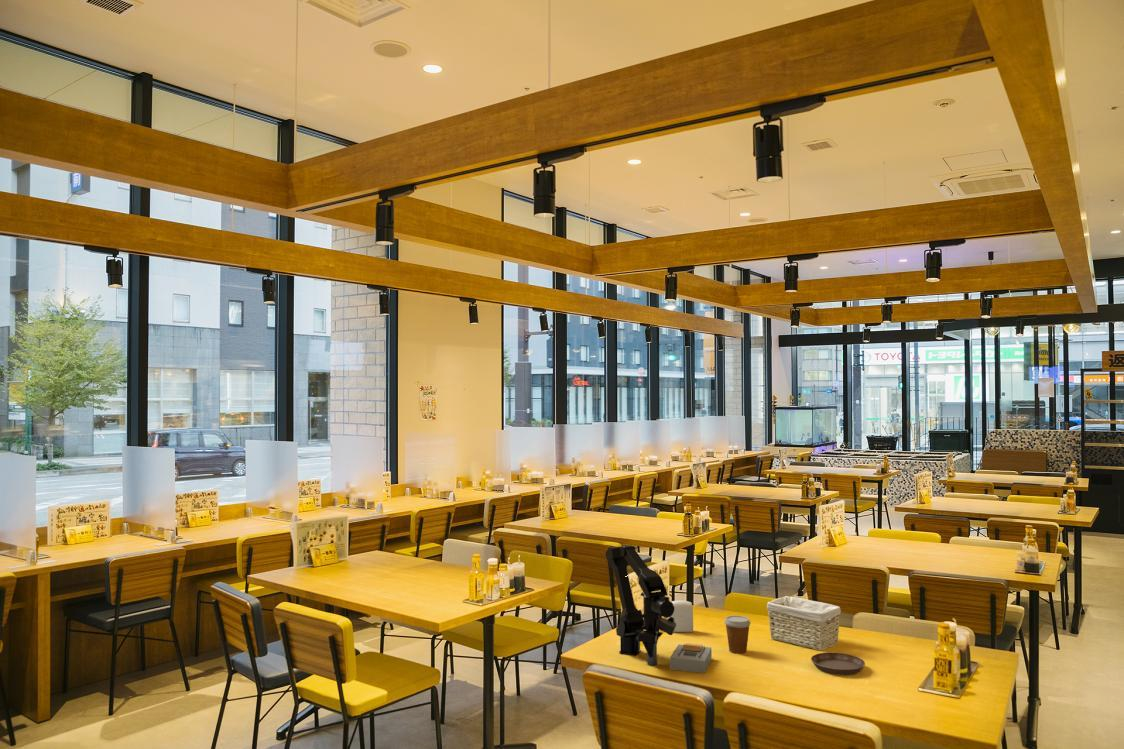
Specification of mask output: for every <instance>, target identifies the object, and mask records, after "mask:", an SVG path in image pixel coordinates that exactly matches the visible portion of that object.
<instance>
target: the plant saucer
mask: <svg viewBox="0 0 1124 749" xmlns="http://www.w3.org/2000/svg"><path fill="white" fill-rule="evenodd" d="M810 660H811V662H812V663H813V665H814V666H815V668H817V669H818V670H819V671H821V672H823V673H826V674H829V675H836V676H853V675H857V674H858V673H860V672H861V671H862V670H863V669H864V667H865V666H866V662H865V660H864V659H862V658H861V657H858V656H856V655H852V654H849V653H842V652H833V651H832V652H821V653H816V654H814V655H812V656H811V657H810Z"/></svg>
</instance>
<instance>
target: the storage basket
mask: <svg viewBox="0 0 1124 749" xmlns="http://www.w3.org/2000/svg"><path fill="white" fill-rule="evenodd" d="M766 610H767V611H768V612H767V616H768V619H769V632H770V638H771V639H772V640H775V641H778V642H779V641H780V642H784V643H787V644H793V645H797V646H798V647H802V648H810V649H813V650H816V651H822V652H823V651H824V650H827V649H829V648H831V647H833V646H836V645H837V644H838V643H839V632H840V630H839V628H840V614H841V612H842V610H841V607H840V606H838V605H834V604H830V603H826V602H821V601H816V600H810V599H806V598H800V597H794V596H788V595H785V596H782V597H779V598H776V599H772V600H771V601H768V602H767V604H766Z"/></svg>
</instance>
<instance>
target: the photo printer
mask: <svg viewBox="0 0 1124 749" xmlns="http://www.w3.org/2000/svg"><path fill="white" fill-rule="evenodd" d="M671 602H672V603H673V605H674V613H673V614H672V616H670V617H673V618H674V621H675V623H676V627H675V630H674V633H693V632H694V608H693V605H692V602H691V601H688V600H683V599H682V600H672V601H671ZM670 617H668V618H670ZM668 618H667V619H668Z"/></svg>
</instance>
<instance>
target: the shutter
mask: <svg viewBox="0 0 1124 749" xmlns="http://www.w3.org/2000/svg"><path fill="white" fill-rule="evenodd" d="M682 645H683V650H692V651H701V649H702V647H703V646H704V645H703V644H698V643H687V642H686V643H683V644H682Z"/></svg>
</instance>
